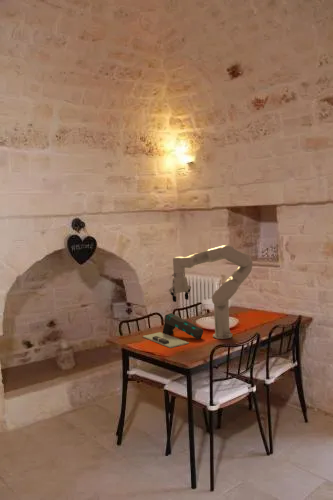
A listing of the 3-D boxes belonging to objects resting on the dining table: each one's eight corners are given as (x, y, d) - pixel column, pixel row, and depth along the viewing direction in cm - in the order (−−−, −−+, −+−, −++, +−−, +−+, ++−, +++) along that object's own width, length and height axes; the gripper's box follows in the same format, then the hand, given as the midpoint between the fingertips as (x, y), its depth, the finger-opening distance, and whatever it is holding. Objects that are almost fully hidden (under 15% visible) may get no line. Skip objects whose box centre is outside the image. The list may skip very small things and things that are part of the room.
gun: (167, 329, 335) (171, 310, 331) (200, 348, 318) (204, 328, 314) (160, 332, 330) (164, 312, 326) (194, 351, 313) (198, 330, 309)
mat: (188, 343, 304) (188, 342, 304) (170, 348, 297) (170, 346, 297) (160, 333, 333) (160, 332, 333) (142, 337, 326) (142, 335, 326)
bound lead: (169, 342, 306) (169, 340, 305) (164, 344, 304) (164, 341, 303) (156, 338, 318) (156, 335, 318) (152, 339, 316) (152, 336, 316)
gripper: (171, 277, 311) (172, 303, 313) (193, 274, 320) (194, 299, 322) (165, 276, 318) (166, 301, 319) (186, 273, 327) (188, 297, 328)
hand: (180, 300), depth 321 cm, fingers open, 9 cm apart
